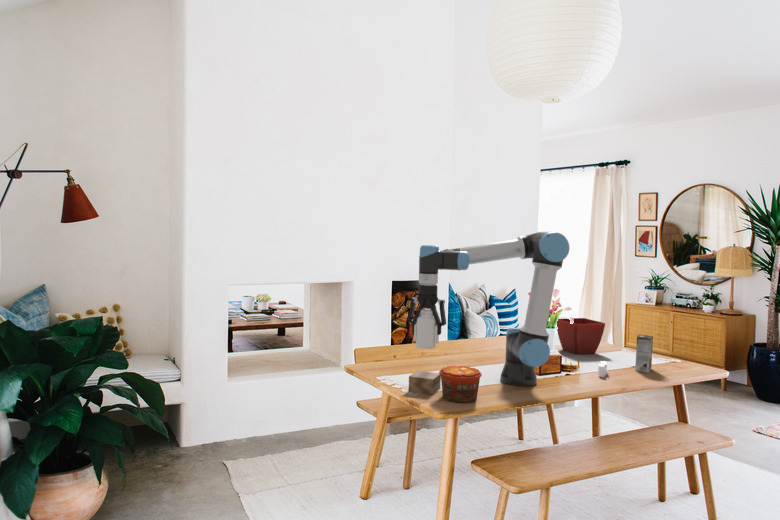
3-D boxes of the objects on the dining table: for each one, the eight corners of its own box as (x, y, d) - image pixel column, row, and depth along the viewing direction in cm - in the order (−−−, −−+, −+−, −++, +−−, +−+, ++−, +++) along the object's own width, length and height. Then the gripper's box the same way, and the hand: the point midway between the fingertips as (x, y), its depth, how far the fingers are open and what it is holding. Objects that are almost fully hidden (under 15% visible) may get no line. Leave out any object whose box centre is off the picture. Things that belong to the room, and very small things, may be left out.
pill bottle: (434, 349, 216) (436, 311, 215) (414, 348, 218) (415, 310, 217) (437, 345, 224) (438, 308, 223) (417, 344, 226) (418, 307, 225)
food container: (430, 395, 215) (431, 367, 214) (462, 390, 223) (463, 363, 223) (456, 407, 201) (457, 377, 201) (489, 400, 210) (490, 372, 209)
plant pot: (553, 348, 311) (554, 318, 310) (582, 347, 316) (583, 317, 316) (574, 355, 293) (575, 324, 292) (604, 354, 298) (606, 323, 297)
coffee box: (637, 367, 272) (638, 334, 271) (651, 369, 268) (653, 335, 268) (634, 370, 264) (636, 336, 263) (649, 372, 261) (651, 338, 260)
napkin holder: (600, 370, 264) (601, 358, 264) (621, 376, 255) (622, 363, 254) (579, 374, 256) (580, 362, 256) (601, 380, 246) (601, 367, 246)
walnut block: (440, 388, 225) (440, 373, 224) (432, 394, 215) (433, 379, 215) (416, 385, 228) (417, 370, 228) (408, 391, 219) (409, 376, 219)
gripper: (400, 283, 220) (398, 340, 221) (450, 286, 212) (448, 346, 213) (406, 282, 227) (404, 337, 228) (456, 285, 219) (454, 342, 220)
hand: (426, 341), depth 221 cm, fingers closed on pill bottle, 8 cm apart
